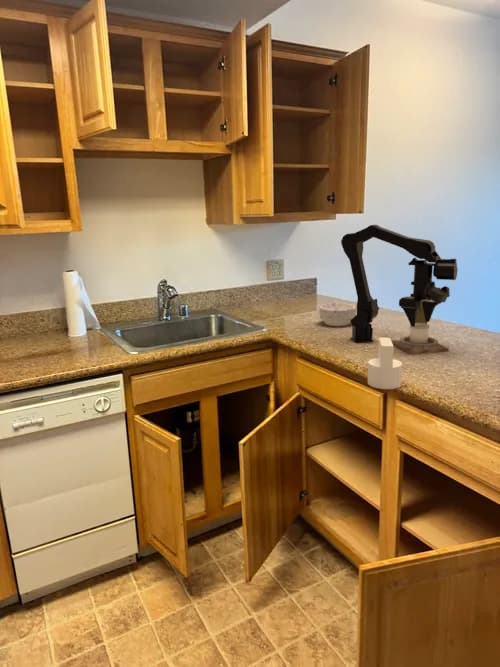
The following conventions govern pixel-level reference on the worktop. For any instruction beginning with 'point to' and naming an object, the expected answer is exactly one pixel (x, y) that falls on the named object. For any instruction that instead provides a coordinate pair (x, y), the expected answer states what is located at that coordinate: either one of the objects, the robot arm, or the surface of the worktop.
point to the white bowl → (337, 313)
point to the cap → (419, 333)
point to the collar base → (415, 351)
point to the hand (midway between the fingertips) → (420, 324)
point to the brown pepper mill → (420, 316)
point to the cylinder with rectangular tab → (384, 367)
